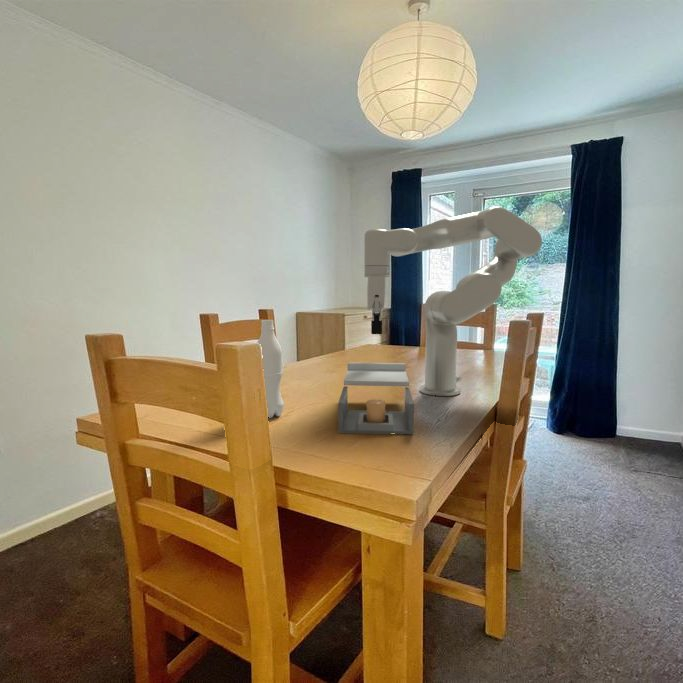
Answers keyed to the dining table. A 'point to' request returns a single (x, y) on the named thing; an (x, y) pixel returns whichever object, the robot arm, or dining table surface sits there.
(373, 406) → the tan egg-shaped pebble
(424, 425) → the dining table surface
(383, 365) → the lid
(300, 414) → the dining table surface
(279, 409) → the water bottle
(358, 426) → the housing
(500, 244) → the robot arm
